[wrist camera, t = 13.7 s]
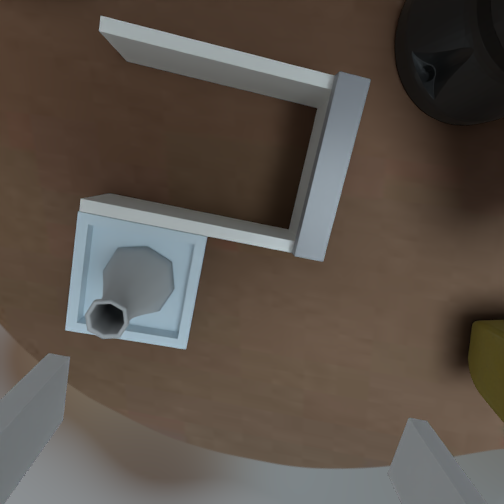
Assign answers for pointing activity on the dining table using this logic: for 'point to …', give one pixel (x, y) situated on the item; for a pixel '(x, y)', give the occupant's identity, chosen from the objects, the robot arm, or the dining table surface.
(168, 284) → the flask
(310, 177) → the bay
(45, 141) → the dining table surface
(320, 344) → the dining table surface
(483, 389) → the flower pot
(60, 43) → the dining table surface
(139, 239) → the tray
